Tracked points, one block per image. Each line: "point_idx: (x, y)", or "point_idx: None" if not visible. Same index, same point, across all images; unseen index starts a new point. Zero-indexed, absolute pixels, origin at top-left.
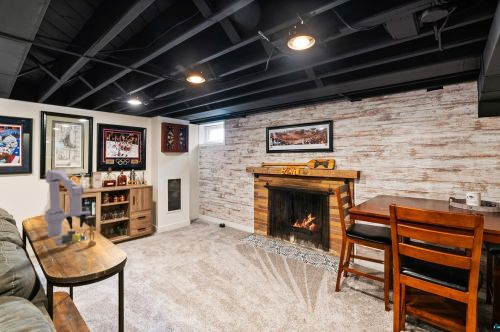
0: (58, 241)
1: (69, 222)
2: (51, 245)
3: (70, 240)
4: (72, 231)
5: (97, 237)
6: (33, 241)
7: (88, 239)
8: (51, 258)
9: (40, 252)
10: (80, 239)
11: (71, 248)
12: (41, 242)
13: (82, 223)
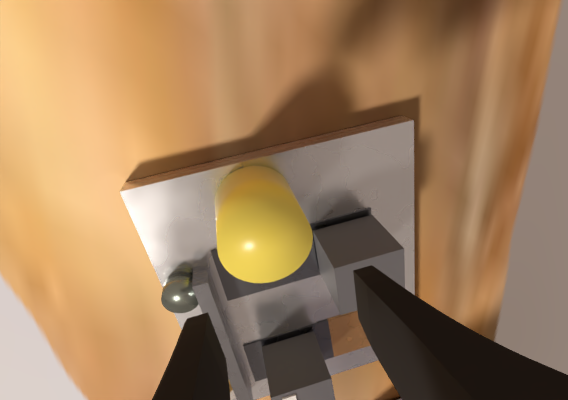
0: None
1: (525, 360)
2: (431, 229)
3: None
4: (297, 388)
5: (45, 281)
6: None
7: (125, 194)
8: None
9: (534, 74)
10: (215, 237)
11: (303, 12)
12: None
13: (171, 385)
